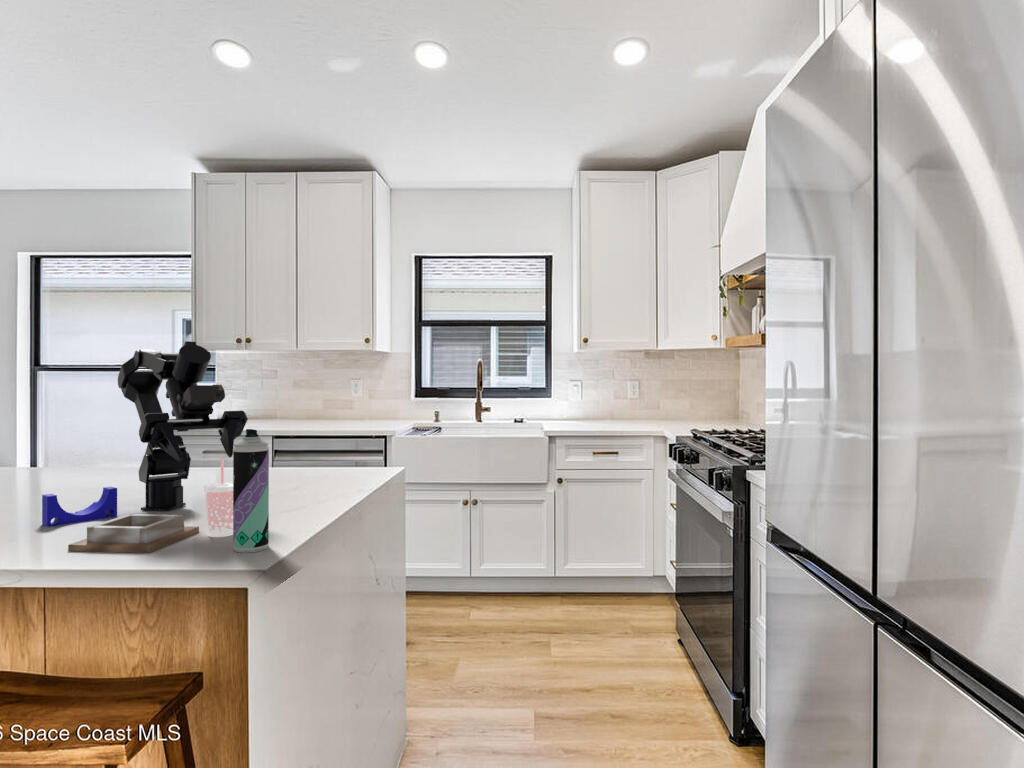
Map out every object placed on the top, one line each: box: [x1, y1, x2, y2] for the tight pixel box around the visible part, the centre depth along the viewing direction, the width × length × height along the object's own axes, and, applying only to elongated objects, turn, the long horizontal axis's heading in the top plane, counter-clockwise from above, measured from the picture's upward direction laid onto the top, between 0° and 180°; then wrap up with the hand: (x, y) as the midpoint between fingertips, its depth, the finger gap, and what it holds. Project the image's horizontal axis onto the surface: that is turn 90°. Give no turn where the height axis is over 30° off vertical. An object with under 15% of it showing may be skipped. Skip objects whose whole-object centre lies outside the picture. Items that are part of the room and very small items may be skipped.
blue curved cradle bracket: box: [41, 486, 118, 528], centre depth 125 cm, size 12×4×6 cm, turn 143°
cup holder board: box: [67, 513, 200, 554], centre depth 108 cm, size 14×14×4 cm
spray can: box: [232, 428, 270, 554], centre depth 104 cm, size 6×6×20 cm
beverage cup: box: [203, 457, 233, 538], centre depth 113 cm, size 6×6×14 cm
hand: (206, 458), depth 119 cm, fingers open, 9 cm apart
